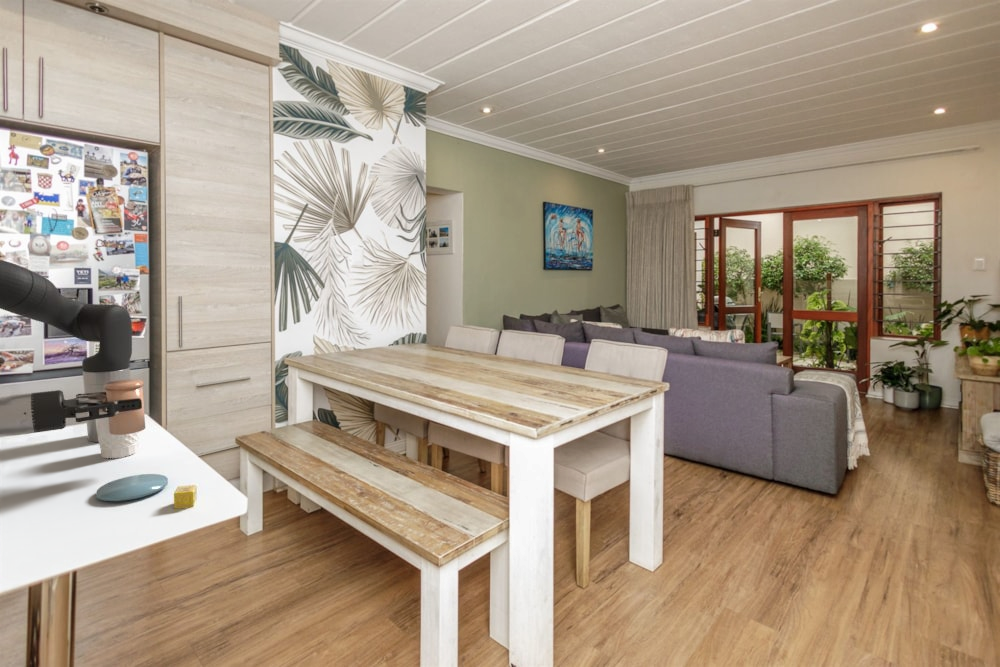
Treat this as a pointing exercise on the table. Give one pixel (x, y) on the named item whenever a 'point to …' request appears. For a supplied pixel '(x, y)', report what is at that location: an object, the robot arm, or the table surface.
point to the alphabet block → (185, 496)
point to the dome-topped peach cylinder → (126, 419)
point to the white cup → (115, 441)
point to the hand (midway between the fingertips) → (139, 399)
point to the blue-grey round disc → (132, 487)
